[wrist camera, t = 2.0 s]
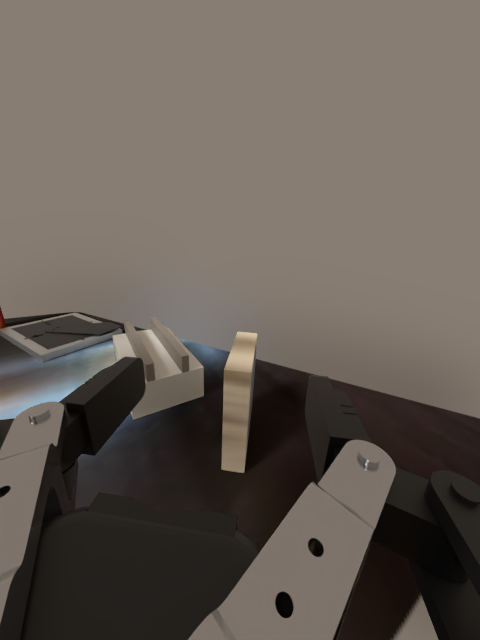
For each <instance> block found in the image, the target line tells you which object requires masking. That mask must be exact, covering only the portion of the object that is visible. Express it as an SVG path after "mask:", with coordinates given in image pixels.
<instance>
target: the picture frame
mask: <svg viewBox="0 0 480 640" xmlns="http://www.w3.org/2000/svg"><path fill="white" fill-rule="evenodd" d="M119 328H121V326H118V325H116V324H113V323H110V322H100V321H97V320H94V319H92V318H89V317H86V316H83V315H81V314H78V313H71V314H67V315H62V316H57V317H53V318H48V319H43V320H39V321H34V322H30V323H25V324H20V325H16V326H11V327H6V328H2V329H0V335H1V336H2V337H4V338H5V339H7V340H8V341H10V342H12V343H13V344H15V345H16V346H18V347H19V348H21V349H23V350H24V351H26V352H27V353H29V354H30V355H32V356H34V357H35V358H37V359H38V360H40V361H41V362H45V361H48V360H51V359H54V358H57V357H60V356H63V355H66V354H68V353H71V352H74V351H77V350H80V349H83V348H86V347H89V346H92V345H95V344H98V343H101V342H104V341H107V340H110V339H113V337H112V335H118V334H122V329H119Z"/></svg>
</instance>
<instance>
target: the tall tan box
mask: <svg viewBox="0 0 480 640" xmlns="http://www.w3.org/2000/svg"><path fill="white" fill-rule="evenodd" d="M256 343H257V333H247V332H238V333H237V336H236V338H235V341H234V344H233V347H232V349H231V352H230V355H229V357H228V360H227V363H226V366H225V368H224V391H223V429H222V467H221V470H227V471H233V472H240V473H244V471H245V462H246V453H247V445H248V436H249V428H250V419H251V410H252V398H253V384H254V371H255V358H256Z"/></svg>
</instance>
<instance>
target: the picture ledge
mask: <svg viewBox="0 0 480 640" xmlns="http://www.w3.org/2000/svg"><path fill="white" fill-rule="evenodd" d="M150 324H151V329H150V330H143V331H137V332H136V330H135V328H134V327H133V325H132V323H131V321H130V320H126V321H124V326H125V333H124V334H118V335H112V337H113V344H114V350H115V357H116V362H118V361H119V360H120V359H122V358H123V357H136V358H141V359H142V360H143V365H144V375H145V384H146V389H145V393H144V396H143V398H142V399H141V400H140V401H139V403H138V404H137V405H136V406H135V408H134V409H133V410H132V411H131V415H132V419H133V420H134V419H137V418H140V417H143V416H146V415H149V414H152V413H155V412H158V411H161V410H164V409H167V408H170V407H173V406H176V405H179V404H181V403H184V402H187V401H190V400H193V399H196V398H199V397H202V396H204V367H203V366H202V365H201V364H200V362H199V361H198V360H197V359H196V358H195V357H194V356H193V355H192V354H191V353H190V351H189V350H188V349H187V348H186V347H185V346H184V345H183V344H182V343H181V342H180V340H179V339H178V338H177V337H176V336H175V335H174V334H173V333H172V332H171V331H170V329H169V328H168V327H164V326H163V325H162V324H161V323H160V322H159V321H158V319H157V318H156V317H150Z"/></svg>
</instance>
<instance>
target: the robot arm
mask: <svg viewBox="0 0 480 640" xmlns="http://www.w3.org/2000/svg"><path fill="white" fill-rule="evenodd" d="M145 389H146V384H145V375H144V365H143V360H142V359H141V358H136V357H123V358H122V359H120V360H119V361H118V362H116V363H115V364H114V365H112V366H110V367H108V368H106V369H103V370H101V371H100V372H98V373H97V374H96V375H94V376H93V377H92V378H90V379H89V380H88V381H86V382H85V384H82V385H81V386H80V387H78V388H77V389H76V390H74V391H73V392H72V393H71V394H69V395H68V396H67V397H65V398H64V399H63V400H61V401H60V402H47V403H42V404H39V405H36V406H33V407H31V408H29V409H27V410H25V411H24V412H22V413H21V414H19V415H18V416H17V417H16V418H15V419H6V420H0V640H337V638H338V635H339V632H340V630H341V627H342V624H343V621H344V618H345V616H346V613H347V610H348V607H349V604H350V601H351V599H352V596H353V593H354V590H355V588H356V585H357V582H358V580H359V577H360V574H361V571H362V569H363V566H364V563H365V560H366V558H367V555H368V552H369V549H370V547H371V544H372V541H374V542H376V543H378V544H380V545H382V546H384V547H386V548H388V549H390V550H392V551H394V552H396V553H398V554H400V555H401V556H403V557H405V558H407V559H408V561H409V563H410V566H411V569H412V571H413V574H414V577H415V579H416V582H417V584H418V587H419V590H420V592H421V595H422V597H423V600H424V602H425V605H426V607H427V610H428V613H429V616H430V618H431V621H432V623H433V626H434V629H435V631H436V634H437V637H438V639H439V640H480V486H479V485H477V484H476V483H474V482H473V481H471V480H470V479H468V478H466V477H464V476H462V475H459V474H457V473H454V472H451V471H446V470H438V471H435V472H433V473H432V474H431V477H430V479H429V480H428V479H425V478H423V477H420V476H417V475H415V474H412V473H409V472H407V471H404V470H402V469H400V468H398V467H396V466H395V464H394V462H393V460H392V459H391V458H390V456H389V455H388V454H387V453H386V452H385V451H384V450H382V449H381V448H379V447H378V446H376V445H374V444H372V442H371V440H370V438H369V436H368V434H367V432H366V430H365V428H364V426H363V424H362V422H361V420H360V418H359V416H357V412H356V410H355V408H354V406H353V404H352V402H351V400H350V398H349V397H348V396H347V395H346V394H345V393H344V392H343V391H342V390H341V389H333V387H332V385H331V382H330V380H329V378H328V377H326V376H316V375H310V377H309V383H308V389H307V396H306V403H305V419H306V424H307V429H308V434H309V439H310V445H311V450H312V455H313V460H314V465H315V470H316V476H317V481H318V484H317V483H315V482H312V483H310V484H309V485H308V487H307V488H306V489H305V491H304V492H303V493H302V495H301V496H300V498H299V499H298V500H297V502H296V503H295V505H294V506H293V507H292V509H291V510H290V511H289V513H288V514H287V516H286V517H285V518H284V520H283V521H282V522H281V524H280V525H279V527H278V528H277V529H276V531H275V532H274V533H273V535H272V536H271V538H270V539H269V540H268V542H267V543H266V544H265V546H264V547H263V549H262V548H261V547H260V546H259V545H258V544H257V543H256V542H255V541H254V540H253V539H251V538H250V537H249V536H247V535H246V534H244V533H243V532H241V531H239V530H237V515H231V514H225V513H219V512H214V511H208V510H194V511H185V512H177V513H169V514H161V513H158V512H156V511H155V510H153V509H151V508H149V507H147V506H146V505H144V504H142V503H140V502H138V501H136V500H135V499H133V498H130V497H124V496H118V495H112V494H106V493H100V492H99V493H98V495H97V496H96V498H95V499H94V501H93V502H92V503H91V505H90V506H86V507H81V508H78V509H75V498H76V486H77V474H78V461H77V458H78V457H79V456H80V455H81V454H87V455H94V456H95V455H96V453H97V452H98V451H99V450H100V449H101V447H102V446H103V445H104V444H105V443H106V441H107V440H108V439H109V438H110V436H111V435H112V434H113V433H114V432H115V430H116V429H117V428H118V427H119V426H120V424H121V423H122V422H123V421H124V420H125V418H126V417H127V416H128V415H129V414H130V412H131V411H132V410H133V409H134V408H135V406H136V405H137V404H138V403H139V401H140V400H141V399H142V398H143V396H144V393H145Z"/></svg>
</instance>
